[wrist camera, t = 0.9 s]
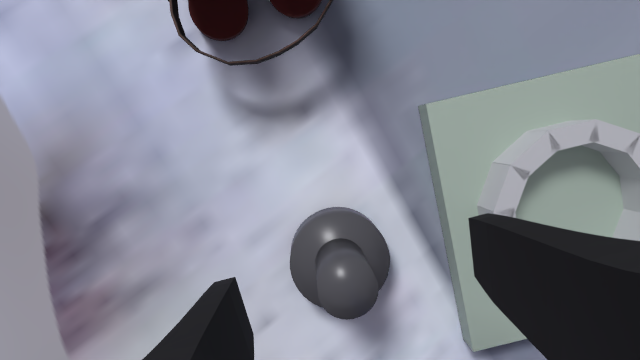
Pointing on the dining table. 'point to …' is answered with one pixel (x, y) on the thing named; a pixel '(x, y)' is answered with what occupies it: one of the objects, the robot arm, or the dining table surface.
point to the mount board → (545, 188)
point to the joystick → (339, 261)
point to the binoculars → (239, 20)
